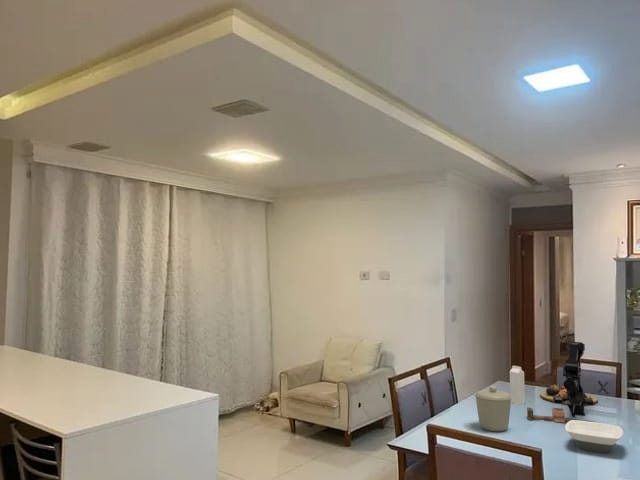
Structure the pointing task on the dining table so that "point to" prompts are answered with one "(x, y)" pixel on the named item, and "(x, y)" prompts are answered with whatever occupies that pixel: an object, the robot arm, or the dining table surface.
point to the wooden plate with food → (559, 394)
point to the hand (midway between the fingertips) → (573, 417)
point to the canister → (493, 409)
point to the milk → (517, 385)
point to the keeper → (558, 415)
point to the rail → (536, 417)
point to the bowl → (594, 435)
